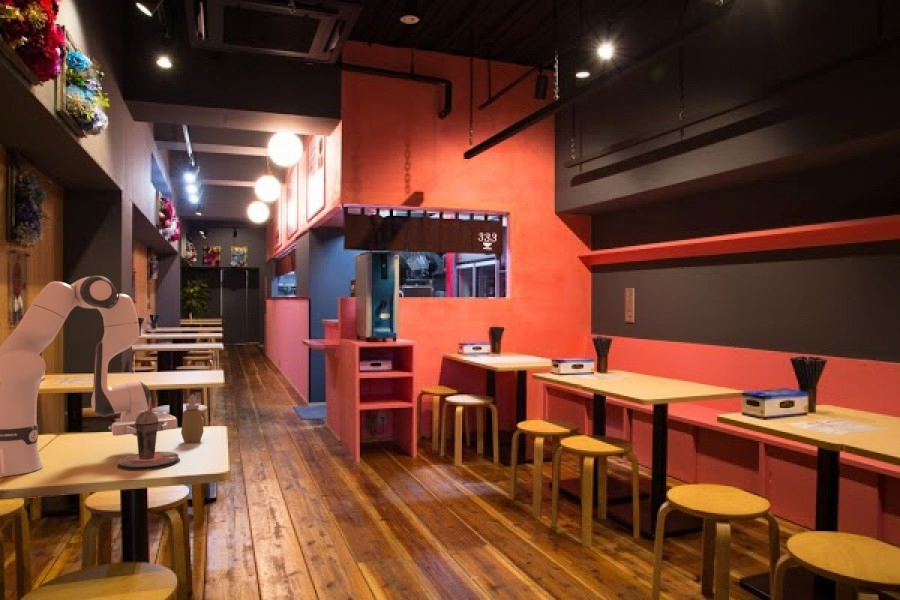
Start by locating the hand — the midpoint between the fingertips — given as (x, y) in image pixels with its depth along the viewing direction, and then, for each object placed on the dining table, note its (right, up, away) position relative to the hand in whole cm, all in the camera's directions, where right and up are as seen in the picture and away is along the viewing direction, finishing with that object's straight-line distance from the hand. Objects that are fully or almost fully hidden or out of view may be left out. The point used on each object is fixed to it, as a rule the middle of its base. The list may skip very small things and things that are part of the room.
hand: (149, 429), depth 210 cm
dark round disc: (-1, -12, +1) cm, 12 cm away
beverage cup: (-1, -10, 0) cm, 10 cm away
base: (-1, -12, +1) cm, 12 cm away
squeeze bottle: (0, -12, +34) cm, 36 cm away
